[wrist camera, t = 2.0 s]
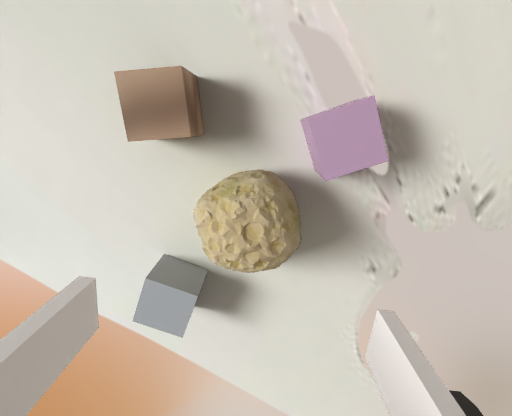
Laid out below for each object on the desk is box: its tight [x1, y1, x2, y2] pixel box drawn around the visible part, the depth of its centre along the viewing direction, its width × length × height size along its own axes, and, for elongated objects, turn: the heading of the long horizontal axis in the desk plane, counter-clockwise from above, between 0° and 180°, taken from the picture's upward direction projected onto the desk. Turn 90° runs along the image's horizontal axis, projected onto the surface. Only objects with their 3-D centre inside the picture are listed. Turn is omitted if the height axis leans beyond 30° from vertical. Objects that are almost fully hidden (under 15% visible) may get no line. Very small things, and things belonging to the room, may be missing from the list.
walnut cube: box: [114, 66, 204, 141], centre depth 24 cm, size 5×5×5 cm
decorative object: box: [194, 170, 301, 273], centre depth 26 cm, size 9×10×10 cm
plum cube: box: [301, 96, 388, 181], centre depth 24 cm, size 5×5×5 cm
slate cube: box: [133, 254, 208, 338], centre depth 29 cm, size 5×5×5 cm
